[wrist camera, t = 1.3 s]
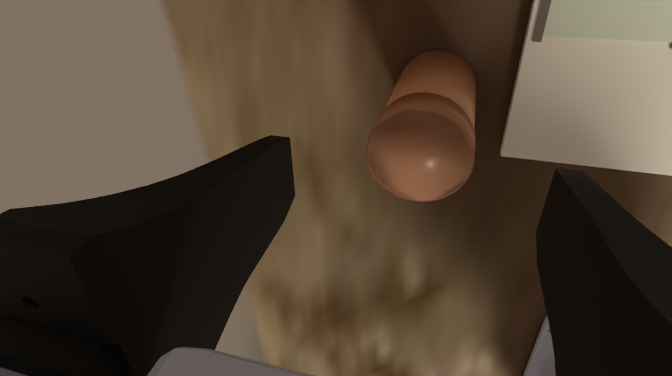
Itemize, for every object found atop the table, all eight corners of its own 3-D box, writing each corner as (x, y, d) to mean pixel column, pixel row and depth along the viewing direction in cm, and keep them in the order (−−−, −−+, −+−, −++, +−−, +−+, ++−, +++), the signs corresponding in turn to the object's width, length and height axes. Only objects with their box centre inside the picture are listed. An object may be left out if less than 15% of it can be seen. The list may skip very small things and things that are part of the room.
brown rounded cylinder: (471, 128, 18) (465, 208, 14) (395, 120, 19) (365, 193, 15) (484, 51, 17) (483, 113, 12) (399, 46, 17) (367, 102, 13)
